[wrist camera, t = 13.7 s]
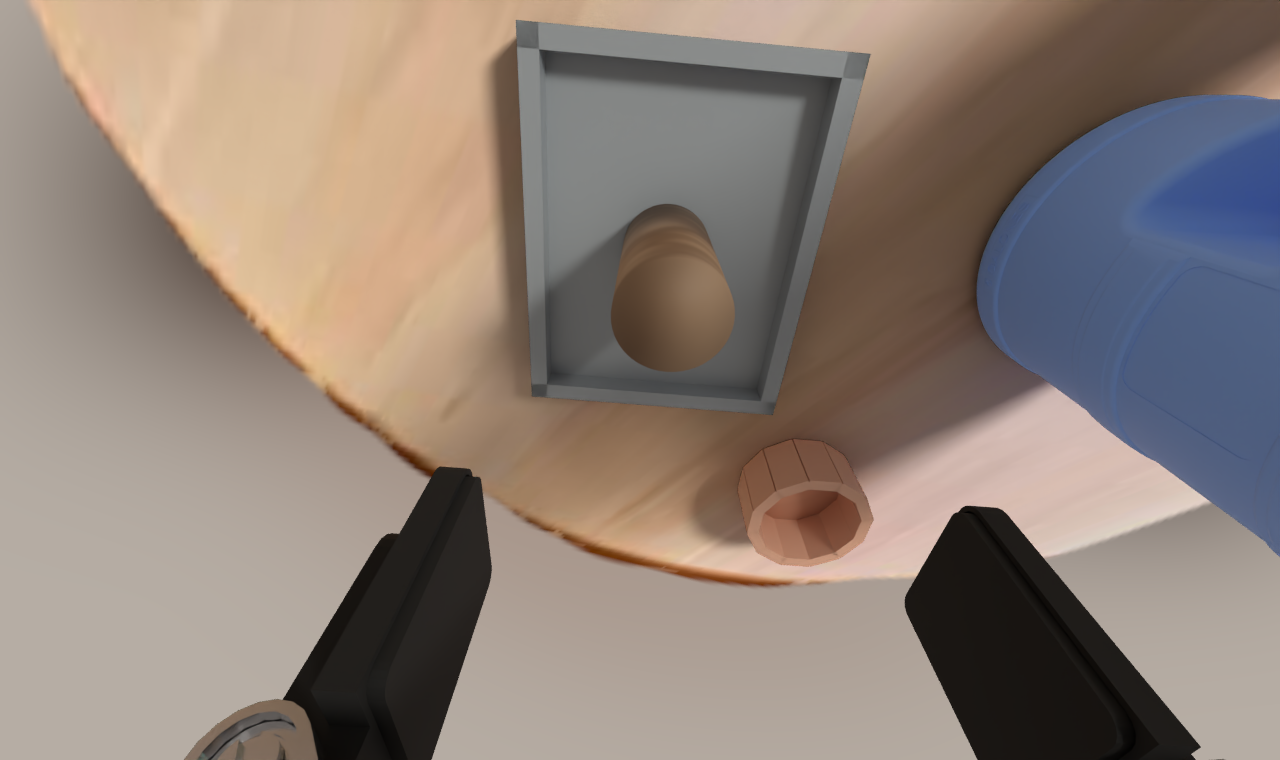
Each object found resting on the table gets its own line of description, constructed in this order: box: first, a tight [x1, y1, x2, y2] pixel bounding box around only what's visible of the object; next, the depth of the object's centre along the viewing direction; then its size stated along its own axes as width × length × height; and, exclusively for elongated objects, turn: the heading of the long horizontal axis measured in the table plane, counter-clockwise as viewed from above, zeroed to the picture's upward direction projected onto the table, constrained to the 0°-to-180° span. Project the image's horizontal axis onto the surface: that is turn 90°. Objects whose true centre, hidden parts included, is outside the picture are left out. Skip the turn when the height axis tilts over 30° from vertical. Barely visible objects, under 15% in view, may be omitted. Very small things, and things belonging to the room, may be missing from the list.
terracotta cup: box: [738, 439, 873, 567], centre depth 37 cm, size 9×9×4 cm
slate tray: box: [516, 20, 870, 415], centre depth 28 cm, size 16×20×2 cm
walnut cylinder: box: [611, 204, 735, 372], centre depth 24 cm, size 5×5×10 cm
